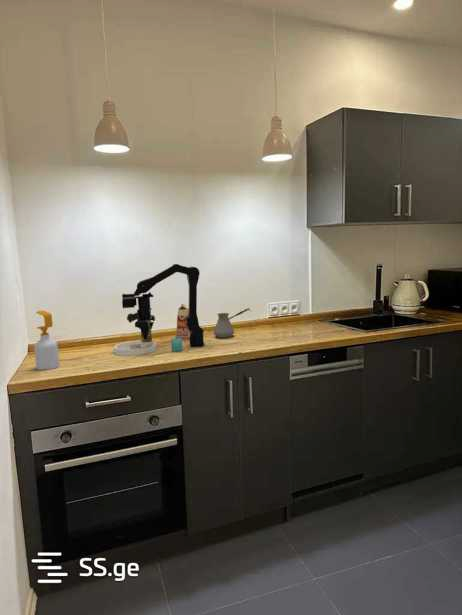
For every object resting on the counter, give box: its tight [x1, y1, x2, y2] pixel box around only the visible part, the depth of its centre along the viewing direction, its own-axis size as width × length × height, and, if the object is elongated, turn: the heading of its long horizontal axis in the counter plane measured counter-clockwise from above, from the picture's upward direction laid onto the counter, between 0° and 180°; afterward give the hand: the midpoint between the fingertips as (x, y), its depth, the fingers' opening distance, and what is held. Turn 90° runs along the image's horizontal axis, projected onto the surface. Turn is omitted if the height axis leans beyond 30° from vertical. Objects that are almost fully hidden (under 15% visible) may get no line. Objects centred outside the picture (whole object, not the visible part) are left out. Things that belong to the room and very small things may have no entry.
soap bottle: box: [33, 310, 60, 371], centre depth 173 cm, size 9×9×25 cm
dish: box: [113, 340, 158, 357], centre depth 199 cm, size 20×20×3 cm
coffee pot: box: [213, 307, 251, 339], centre depth 223 cm, size 21×12×15 cm, turn 103°
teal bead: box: [170, 337, 183, 353], centre depth 194 cm, size 5×5×6 cm
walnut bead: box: [140, 329, 153, 342], centre depth 198 cm, size 5×5×6 cm
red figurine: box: [174, 303, 192, 342], centre depth 219 cm, size 9×9×20 cm
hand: (146, 338), depth 198 cm, fingers closed on walnut bead, 5 cm apart
